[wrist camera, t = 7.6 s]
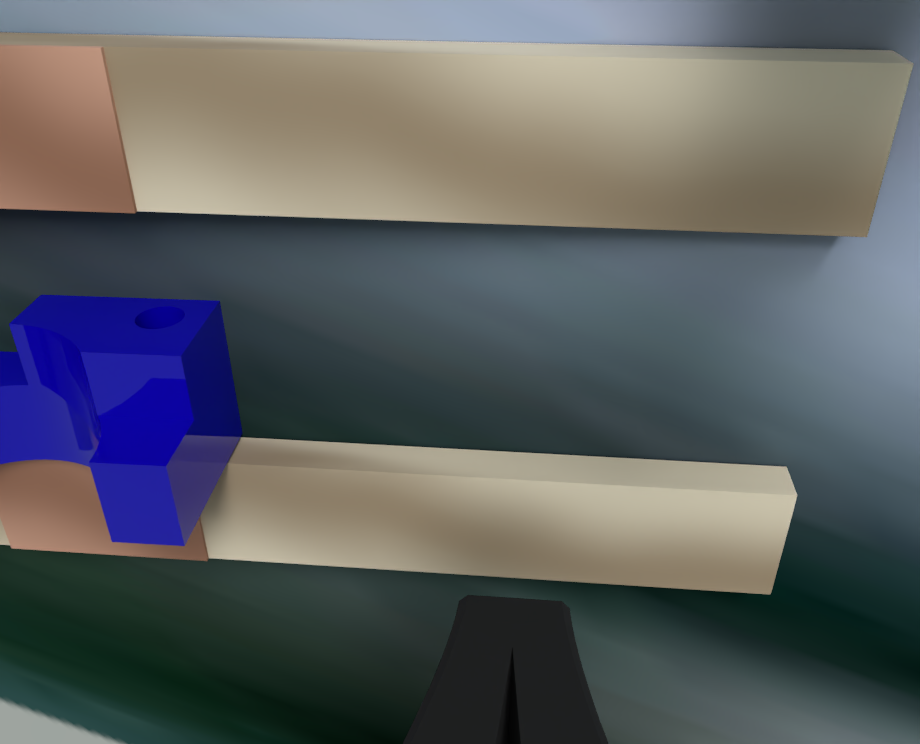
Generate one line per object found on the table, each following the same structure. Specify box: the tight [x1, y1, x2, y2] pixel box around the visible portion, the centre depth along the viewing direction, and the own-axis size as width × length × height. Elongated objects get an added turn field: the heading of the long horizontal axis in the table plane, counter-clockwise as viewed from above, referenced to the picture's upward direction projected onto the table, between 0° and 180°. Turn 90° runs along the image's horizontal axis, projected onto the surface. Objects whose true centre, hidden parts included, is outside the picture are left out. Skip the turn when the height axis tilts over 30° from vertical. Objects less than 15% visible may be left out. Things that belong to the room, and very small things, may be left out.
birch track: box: [0, 32, 913, 594], centre depth 18 cm, size 12×21×1 cm, turn 90°
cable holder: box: [0, 295, 242, 546], centre depth 18 cm, size 8×4×4 cm, turn 91°
